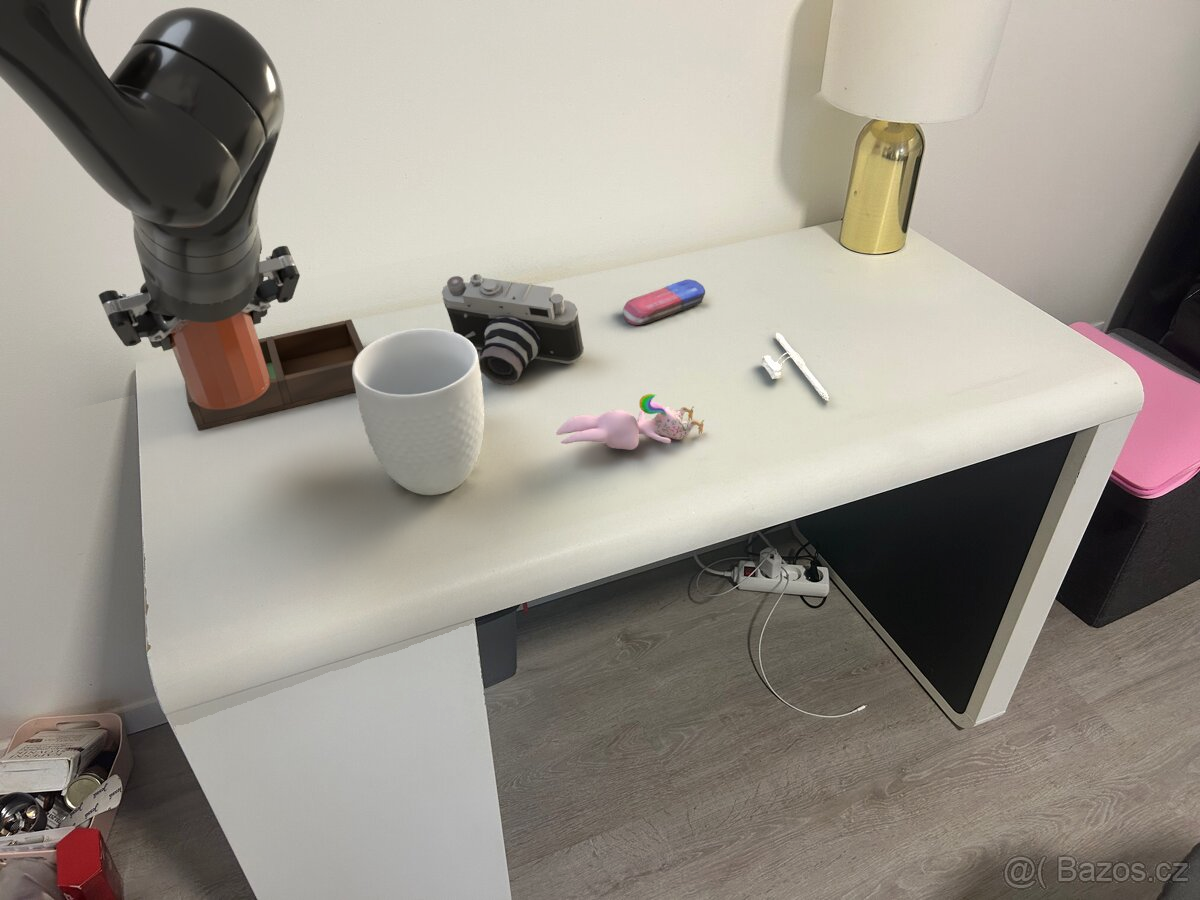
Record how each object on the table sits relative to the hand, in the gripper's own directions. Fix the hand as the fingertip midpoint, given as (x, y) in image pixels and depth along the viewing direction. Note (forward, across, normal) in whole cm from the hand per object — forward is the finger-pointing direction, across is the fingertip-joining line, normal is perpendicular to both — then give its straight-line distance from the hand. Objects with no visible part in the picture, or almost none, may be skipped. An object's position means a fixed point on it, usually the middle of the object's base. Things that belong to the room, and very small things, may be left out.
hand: (208, 326), depth 72 cm
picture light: (0, -54, +23) cm, 59 cm away
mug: (+5, -15, +18) cm, 24 cm away
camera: (+13, -29, +10) cm, 34 cm away
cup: (+3, 0, +5) cm, 6 cm away
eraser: (+14, -52, +10) cm, 54 cm away
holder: (+21, -7, +2) cm, 22 cm away
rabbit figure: (0, -32, +24) cm, 40 cm away
